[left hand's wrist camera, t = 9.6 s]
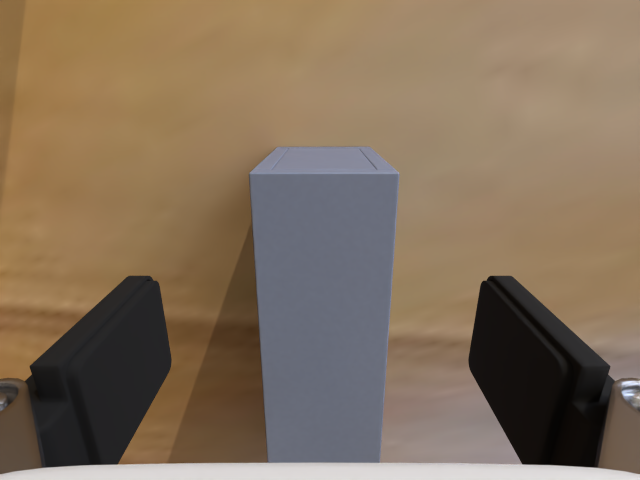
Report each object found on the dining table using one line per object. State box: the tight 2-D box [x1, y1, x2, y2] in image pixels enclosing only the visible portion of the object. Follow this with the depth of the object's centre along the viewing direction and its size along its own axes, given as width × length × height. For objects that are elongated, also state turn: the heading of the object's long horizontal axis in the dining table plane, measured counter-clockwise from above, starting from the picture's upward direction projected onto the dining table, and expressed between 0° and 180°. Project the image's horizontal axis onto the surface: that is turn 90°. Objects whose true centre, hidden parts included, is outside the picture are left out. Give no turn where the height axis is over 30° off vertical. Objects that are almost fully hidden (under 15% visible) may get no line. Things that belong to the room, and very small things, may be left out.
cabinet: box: [249, 147, 399, 463], centre depth 24 cm, size 19×6×10 cm, turn 0°
